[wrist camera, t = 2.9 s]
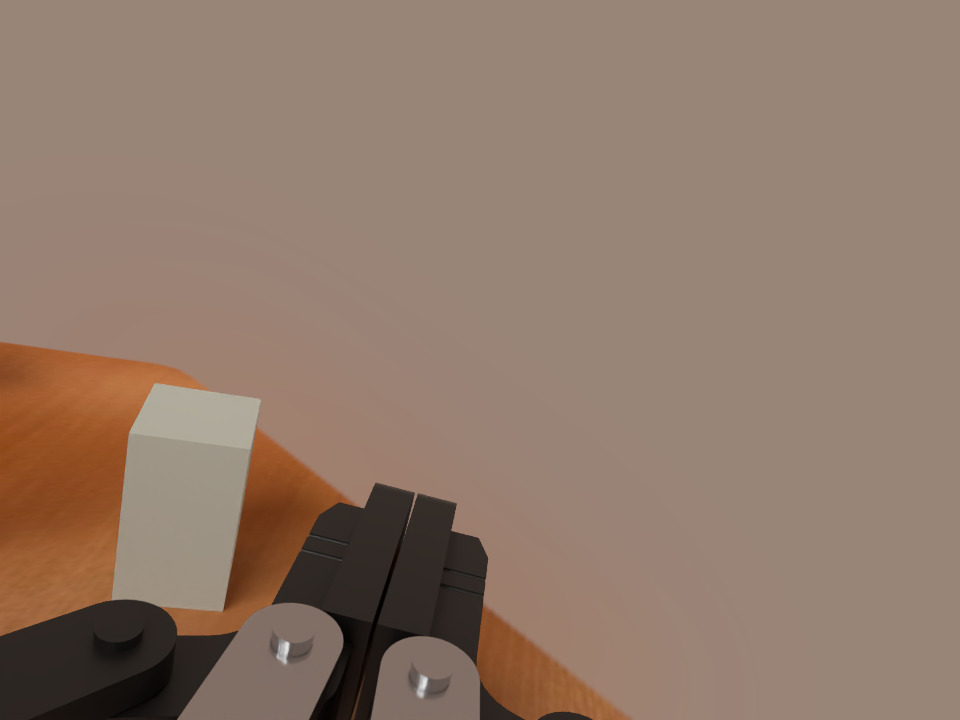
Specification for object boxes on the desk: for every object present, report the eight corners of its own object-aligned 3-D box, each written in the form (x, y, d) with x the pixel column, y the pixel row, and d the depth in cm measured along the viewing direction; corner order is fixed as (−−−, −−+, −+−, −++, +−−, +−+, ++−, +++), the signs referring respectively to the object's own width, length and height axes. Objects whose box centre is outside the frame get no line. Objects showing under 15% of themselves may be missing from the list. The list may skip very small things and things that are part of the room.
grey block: (111, 602, 38) (129, 433, 35) (137, 537, 43) (155, 383, 40) (222, 611, 40) (250, 449, 36) (235, 547, 44) (261, 399, 41)
